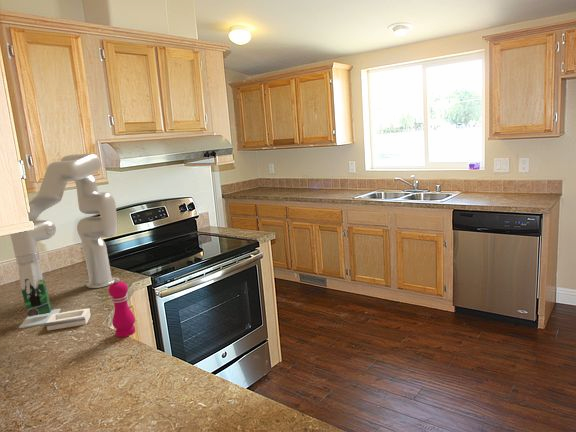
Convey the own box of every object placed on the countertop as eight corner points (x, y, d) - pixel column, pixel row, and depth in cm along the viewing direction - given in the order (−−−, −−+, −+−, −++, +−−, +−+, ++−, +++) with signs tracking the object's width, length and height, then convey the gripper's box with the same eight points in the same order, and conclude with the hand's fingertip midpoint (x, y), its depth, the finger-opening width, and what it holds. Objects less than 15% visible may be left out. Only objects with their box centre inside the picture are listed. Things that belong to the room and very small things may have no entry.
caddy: (53, 321, 163) (52, 314, 163) (90, 315, 166) (89, 308, 166) (46, 331, 155) (45, 324, 154) (85, 325, 158) (84, 317, 157)
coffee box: (26, 317, 164) (19, 284, 162) (29, 314, 167) (21, 282, 164) (50, 313, 166) (43, 281, 164) (52, 310, 169) (45, 278, 166)
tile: (30, 314, 172) (30, 313, 172) (60, 309, 174) (60, 308, 174) (18, 328, 160) (18, 327, 159) (51, 323, 162) (51, 321, 162)
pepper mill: (129, 338, 144) (119, 281, 140) (110, 338, 146) (100, 281, 142) (141, 328, 151) (131, 274, 147) (122, 328, 153) (112, 274, 149)
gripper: (24, 253, 169) (34, 297, 173) (8, 266, 153) (19, 314, 157) (45, 250, 171) (54, 294, 174) (31, 262, 155) (42, 310, 159)
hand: (37, 303), depth 166 cm, fingers closed on coffee box, 3 cm apart
